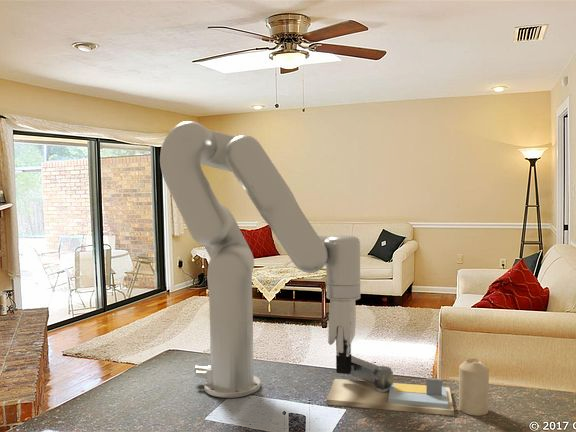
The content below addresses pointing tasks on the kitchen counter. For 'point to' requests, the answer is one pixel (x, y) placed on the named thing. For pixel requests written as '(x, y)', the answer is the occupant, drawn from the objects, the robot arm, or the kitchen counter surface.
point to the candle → (473, 387)
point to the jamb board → (376, 398)
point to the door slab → (419, 394)
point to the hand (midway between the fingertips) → (343, 372)
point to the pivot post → (382, 389)
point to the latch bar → (371, 372)
